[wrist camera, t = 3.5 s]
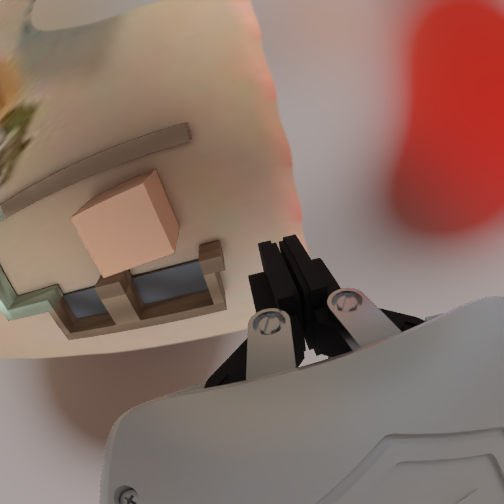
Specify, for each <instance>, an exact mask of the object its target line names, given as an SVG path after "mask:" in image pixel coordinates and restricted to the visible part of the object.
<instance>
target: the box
mask: <svg viewBox="0 0 504 504" xmlns="http://www.w3.org/2000/svg"><path fill="white" fill-rule="evenodd" d="M191 139H192V138H191V134H190V130H189V126H188V122H186V123H182V124H179V125H175V126H172V127H169V128H166V129H162V130H159V131H156V132H153V133H150V134H147V135H144V136H141V137H138V138H136V139H133V140H130V141H127V142H125V143H122V144H120V145H117V146H114V147H112V148H109V149H107V150H105V151H102V152H100V153H97V154H95V155H93V156H90V157H88V158H86V159H84V160H81V161H79V162H77V163H75V164H73V165H71V166H69V167H67V168H65V169H63V170H61V171H59V172H57V173H55V174H53V175H51V176H49V177H47V178H45V179H43V180H41V181H40V182H38V183H36V184H34V185H32V186H31V187H29V188H27V189H25V190H24V191H22V192H20V193H19V194H17V195H15V196H14V197H12V198H10V199H9V200H7V201H6V202H4V203H3V204H1V205H0V222H1V221H2V220H4V219H6V218H7V217H9V216H11V215H13V214H14V213H16V212H18V211H20V210H21V209H23V208H25V207H27V206H29V205H31V204H33V203H34V202H36V201H38V200H40V199H42V198H44V197H46V196H48V195H50V194H52V193H54V192H56V191H58V190H60V189H63V188H65V187H67V186H69V185H71V184H73V183H76V182H78V181H80V180H83V179H85V178H87V177H90V176H92V175H94V174H97V173H99V172H102V171H104V170H107V169H109V168H112V167H114V166H117V165H120V164H122V163H125V162H128V161H131V160H133V159H136V158H139V157H142V156H145V155H148V154H151V153H154V152H157V151H160V150H163V149H167V148H170V147H173V146H177V145H180V144H184V143H187V142H189V141H190V140H191ZM224 270H225V265H224V257H223V252H222V248H221V245H220V241H216V242H212V243H208V244H204V245H200V246H199V260H197V261H193V262H189V263H185V264H181V265H177V266H173V267H169V268H165V269H161V270H157V271H153V272H149V273H145V274H142V275H138V276H134V277H132V276H131V274H130V272H129V270H125V271H122V272H120V273H117V274H114V275H111V276H109V277H106V278H103V276H102V275H101V276H100V278H99V280H98V282H97V284H96V286H95V287H91V288H87V289H83V290H80V291H76V292H72V293H68V294H64V295H63V293H62V291H61V290H60V288H59V286H58V285H54V286H51V287H47V288H44V289H41V290H37V291H34V292H31V293H27V294H24V295H21V296H17V295H16V293H15V292H14V290H13V288H12V287H11V285H10V283H9V282H8V280H7V278H6V276H5V274H4V273H3V271H2V269H1V267H0V310H1V311H2V313H3V314H4V316H5V317H6V319H7V320H8V321H10V320H15V319H19V318H24V317H28V316H33V315H37V314H42V313H46V312H49V313H50V315H51V316H52V318H53V319H54V320H55V322H56V323H57V325H58V326H59V328H60V329H61V330H62V332H63V333H64V334H65V336H66V337H67V338H68V340H72V339H79V338H86V337H92V336H98V335H104V334H110V333H116V332H121V331H127V330H132V329H138V328H143V327H148V326H153V325H158V324H163V323H168V322H173V321H178V320H183V319H187V318H192V317H196V316H201V315H205V314H210V313H214V312H219V311H223V310H227V308H226V299H225V291H224V288H223V285H222V282H221V279H220V276H219V273H218V272H220V271H224Z"/></svg>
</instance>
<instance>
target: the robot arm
mask: <svg viewBox="0 0 504 504" xmlns="http://www.w3.org/2000/svg"><path fill="white" fill-rule="evenodd" d="M279 245H280V251H281V253H280V251H279V248H278V246H277V244H276V243H271V241H266V242H262V243H258V246H259V251H260V256H261V260H262V265H263V270H264V272H261V273H257V274H253V275H249V276H248V277H249V282H250V286H251V291H252V295H253V300H254V304H255V309H256V314H254V315H253V316H252V317H251V319H250V320H249V323H248V338H247V339H246V340H245V341H244V342H243V343H242V344H241V345H240V346H239V348H238V349H237V350H236V351H235V352H234V353H233V354H232V355H231V356H230V357H229V358H228V359H227V360H226V361H225V362H224V363H223V364H222V365H221V366H220V367H219V369H217V370H216V372H215V373H214V374H213V375H212V376H211V377H210V378H209V379H208V380H207V382H206V384H205V385H203V386H200V387H198V385H194V386H191V387H188V388H185V389H182V390H179V391H176V392H173V393H170V394H167V395H164V396H161V397H158V398H155V399H151V400H149V401H147V402H145V403H143V404H141V405H138V406H136V407H134V408H132V409H130V410H129V411H127V412H126V413H124V414H123V415H121V416H120V417H119V418H118V419H117V421H116V422H115V424H114V425H113V427H112V429H111V431H110V434H109V437H108V440H107V444H106V448H105V453H104V458H103V465H102V473H101V482H100V504H504V297H502V296H494V297H485V298H481V299H477V300H474V301H471V302H469V303H466V304H464V305H462V306H460V307H457V308H455V309H453V310H451V311H449V312H446V313H444V314H440V315H435V316H430V317H426V318H425V321H423V320H421V319H420V318H417V317H414V316H409V315H405V314H401V313H397V312H393V311H388V310H384V309H380V308H378V307H377V306H376V305H375V304H374V303H373V302H372V301H371V300H370V299H369V298H368V297H367V296H366V295H365V294H364V293H362V292H361V291H359V290H356V289H353V288H342V289H341V288H340V287H339V285H338V283H337V282H336V280H335V279H334V278H333V276H332V274H331V273H330V271H329V270H328V268H327V267H326V265H325V264H324V263H323V261H322V260H321V259H320V258H317V259H313V260H311V259H310V257H309V255H308V254H307V252H306V251H305V249H304V247H303V246H302V244H301V243H300V241H299V239H298V238H297V236H296V235H291V236H287V237H283V241H280V242H279ZM304 338H305V339H304ZM305 340H306V343H307V345H308V348H309V350H310V349H314V351H315V353H316V355H320V354H324V355H327V356H328V359H326V360H323V361H320V362H316V363H313V364H309V365H306V366H302V367H298V366H299V365H300V364H301V362H302V361H303V359H304V351H306V349H305Z"/></svg>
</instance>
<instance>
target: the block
mask: <svg viewBox="0 0 504 504" xmlns="http://www.w3.org/2000/svg"><path fill="white" fill-rule="evenodd" d="M70 219H71V221H72V223H73V225H74V227H75V229H76V231H77V232H78V234H79V236H80V238H81V240H82V242H83V244H84V245H85V247H86V249H87V251H88V253H89V254H90V256H91V258H92V260H93V261H94V263H95V265H96V266H97V268H98V270H99V271H100V273H101V275H102V276H103V278H106V277H109V276H111V275H114V274H117V273H120V272H122V271H125V270H128V269H131V268H133V267H136V266H139V265H142V264H145V263H148V262H150V261H153V260H156V259H159V258H162V257H165V256H168V255H170V254H173V253H175V249H176V243H177V238H178V234H179V229H180V226H179V224H178V222H177V220H176V217H175V215H174V212H173V210H172V208H171V205H170V203H169V201H168V198H167V196H166V193H165V191H164V188H163V186H162V183H161V181H160V178H159V176H158V173H157V171H156V169H155V170H152V171H150V172H147V173H145V174H143V175H140V176H138V177H136V178H133V179H131V180H129V181H127V182H124V183H122V184H120V185H118V186H116V187H114V188H111V189H109V190H107V191H105V192H103V193H101V194H99V195H97V196H95V197H93V198H91V199H90V200H89V201H88V202H87V203H86V204H85V205H84V206H82V207H81V208H80V209H79V210H78V211H77V212H76V213H75V214H74V215H73V216H72V217H71V218H70Z"/></svg>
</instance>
